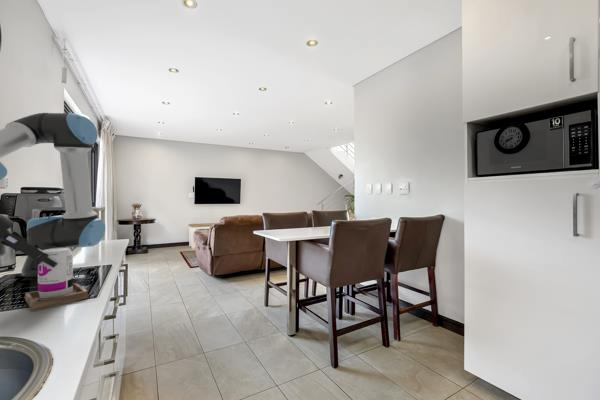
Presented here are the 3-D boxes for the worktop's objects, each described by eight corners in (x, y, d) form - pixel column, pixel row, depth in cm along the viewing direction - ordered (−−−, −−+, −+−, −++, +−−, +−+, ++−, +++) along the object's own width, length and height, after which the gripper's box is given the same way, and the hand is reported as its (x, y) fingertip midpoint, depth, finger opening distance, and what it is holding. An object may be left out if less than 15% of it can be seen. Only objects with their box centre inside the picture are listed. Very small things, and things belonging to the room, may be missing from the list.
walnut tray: (25, 300, 84) (24, 293, 84) (76, 288, 94) (76, 282, 94) (32, 311, 77) (32, 303, 76) (87, 297, 87) (87, 291, 86)
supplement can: (52, 303, 81) (51, 253, 80) (31, 301, 82) (29, 251, 82) (80, 293, 88) (79, 247, 88) (59, 291, 90) (58, 246, 90)
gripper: (-33, 230, 79) (39, 270, 91) (-27, 240, 64) (58, 286, 76) (-6, 211, 83) (60, 251, 95) (6, 216, 68) (82, 263, 80)
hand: (59, 267), depth 86 cm, fingers open, 13 cm apart
